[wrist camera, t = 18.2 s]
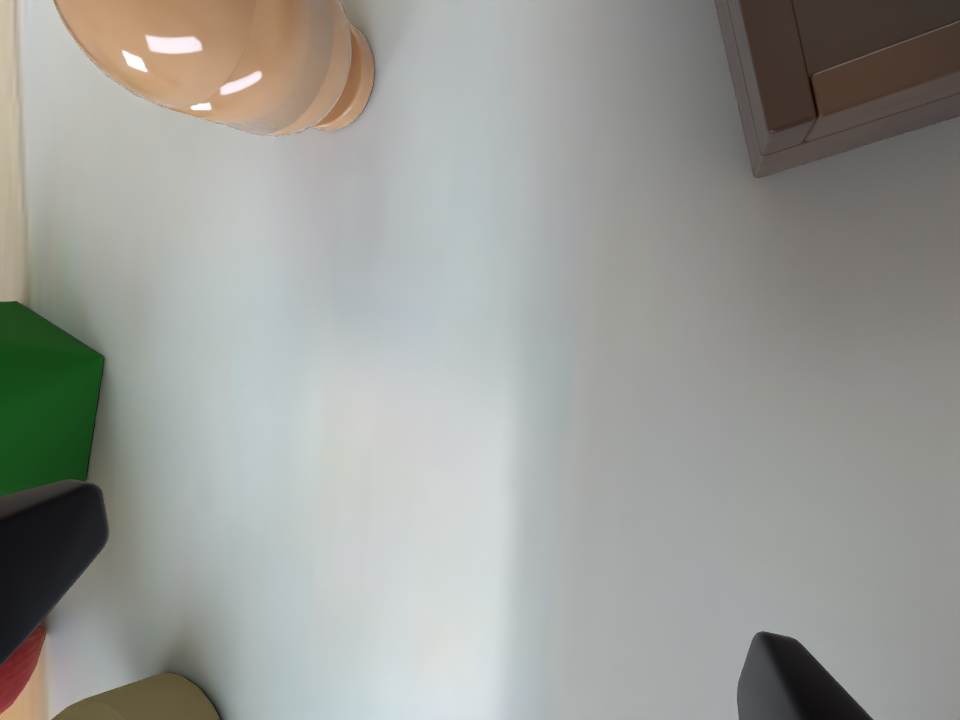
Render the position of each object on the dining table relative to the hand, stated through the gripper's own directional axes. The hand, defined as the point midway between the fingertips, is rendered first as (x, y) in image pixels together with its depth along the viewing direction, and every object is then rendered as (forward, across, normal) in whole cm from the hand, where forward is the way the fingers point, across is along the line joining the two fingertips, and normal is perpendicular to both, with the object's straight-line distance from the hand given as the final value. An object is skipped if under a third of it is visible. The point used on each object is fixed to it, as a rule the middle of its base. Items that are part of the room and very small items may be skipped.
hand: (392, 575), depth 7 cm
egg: (+14, +8, -7) cm, 18 cm away
